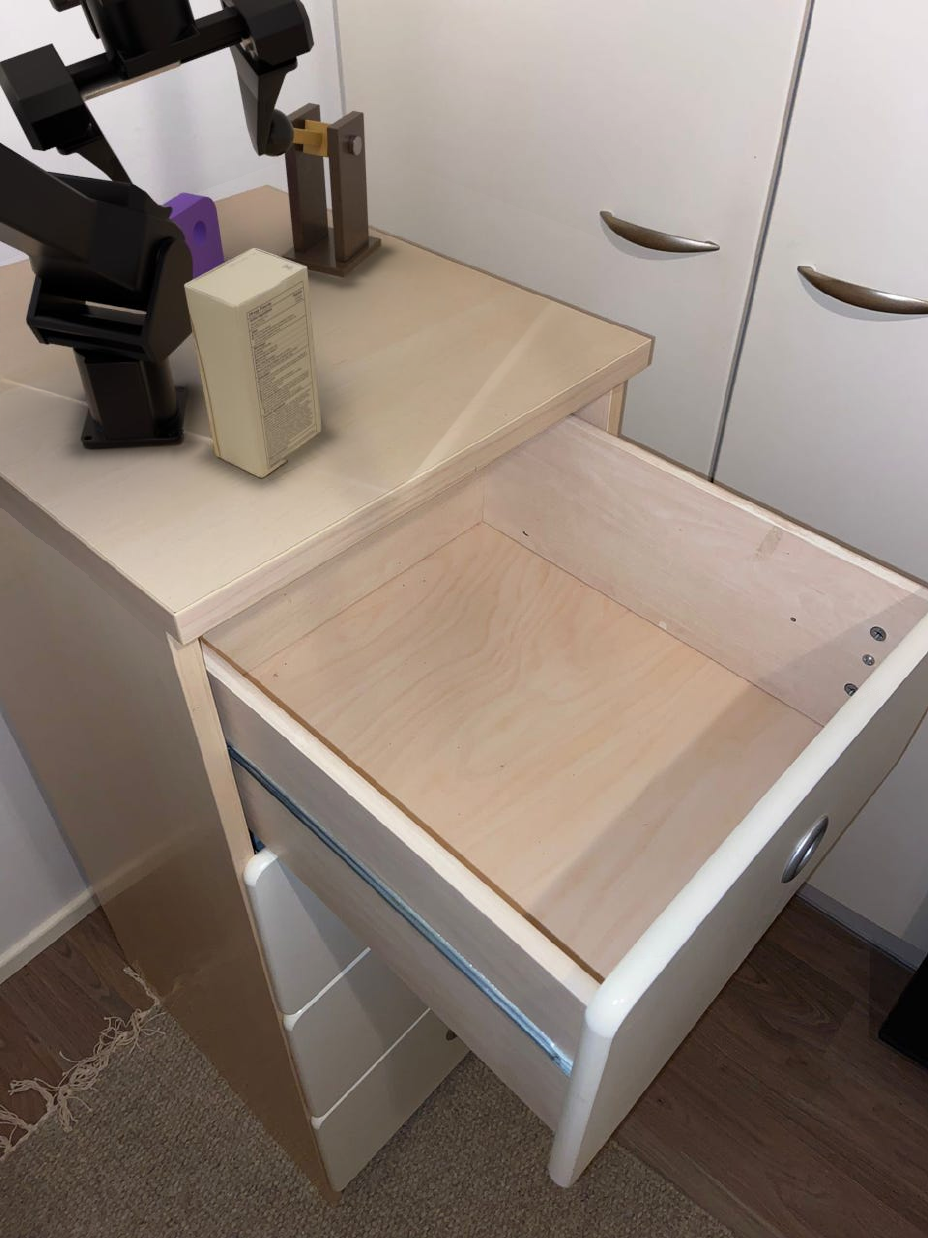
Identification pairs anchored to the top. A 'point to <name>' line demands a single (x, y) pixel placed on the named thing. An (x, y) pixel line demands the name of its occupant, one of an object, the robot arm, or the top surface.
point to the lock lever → (296, 136)
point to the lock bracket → (348, 185)
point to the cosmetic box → (256, 358)
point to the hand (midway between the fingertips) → (198, 175)
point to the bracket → (199, 230)
